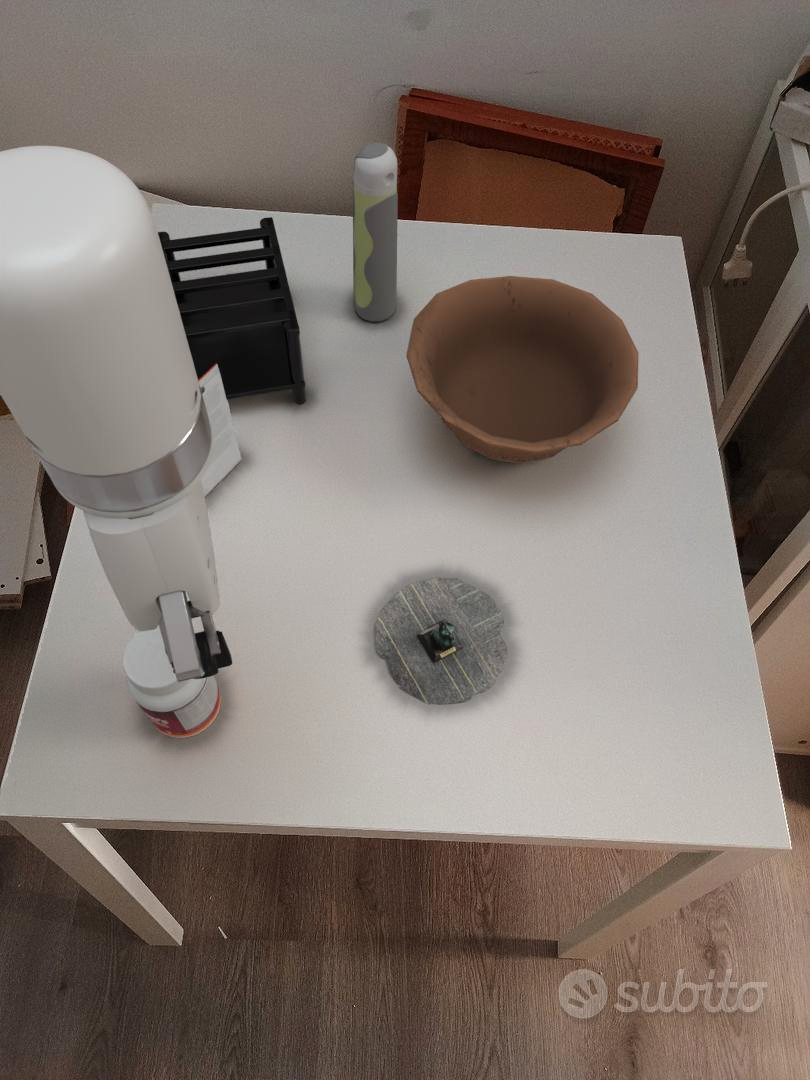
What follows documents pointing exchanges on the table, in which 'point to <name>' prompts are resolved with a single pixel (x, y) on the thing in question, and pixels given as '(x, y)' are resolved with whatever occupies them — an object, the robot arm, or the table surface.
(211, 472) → the ink box
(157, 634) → the pill bottle
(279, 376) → the rack
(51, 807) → the table surface
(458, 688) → the sculpture
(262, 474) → the table surface
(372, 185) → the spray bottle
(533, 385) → the bowl
